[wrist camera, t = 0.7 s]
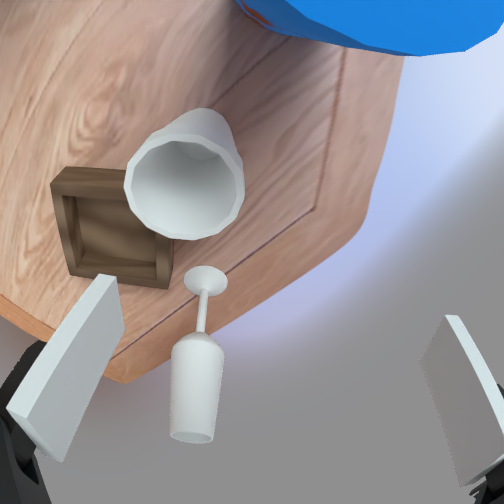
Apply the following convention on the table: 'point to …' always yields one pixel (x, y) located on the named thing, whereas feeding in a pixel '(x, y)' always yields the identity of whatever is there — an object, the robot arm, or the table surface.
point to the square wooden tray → (107, 230)
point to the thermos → (383, 23)
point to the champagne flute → (197, 366)
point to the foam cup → (187, 177)
